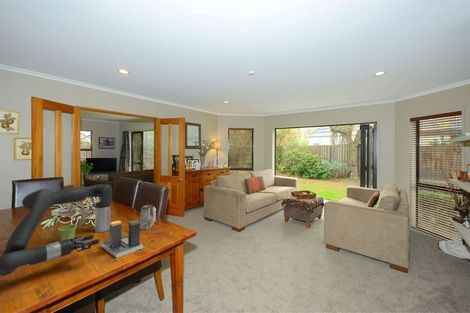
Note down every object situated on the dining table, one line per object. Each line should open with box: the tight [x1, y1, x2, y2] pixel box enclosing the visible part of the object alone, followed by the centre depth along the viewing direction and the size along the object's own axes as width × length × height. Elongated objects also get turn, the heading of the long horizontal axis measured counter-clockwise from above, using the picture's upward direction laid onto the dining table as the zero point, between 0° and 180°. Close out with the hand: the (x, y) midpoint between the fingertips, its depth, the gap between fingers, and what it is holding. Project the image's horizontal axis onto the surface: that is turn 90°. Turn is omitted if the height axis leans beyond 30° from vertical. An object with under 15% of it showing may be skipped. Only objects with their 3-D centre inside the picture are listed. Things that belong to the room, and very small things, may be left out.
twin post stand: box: [101, 219, 144, 259], centre depth 124 cm, size 20×15×16 cm
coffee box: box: [139, 204, 154, 230], centre depth 157 cm, size 9×6×16 cm
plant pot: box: [57, 224, 77, 241], centre depth 131 cm, size 9×9×9 cm
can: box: [153, 206, 157, 223], centre depth 169 cm, size 8×8×12 cm
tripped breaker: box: [109, 220, 123, 248], centre depth 120 cm, size 4×5×14 cm
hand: (95, 238), depth 112 cm, fingers open, 8 cm apart
